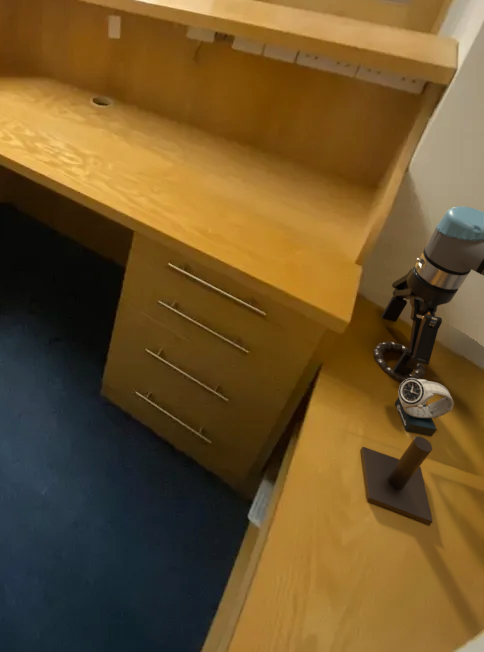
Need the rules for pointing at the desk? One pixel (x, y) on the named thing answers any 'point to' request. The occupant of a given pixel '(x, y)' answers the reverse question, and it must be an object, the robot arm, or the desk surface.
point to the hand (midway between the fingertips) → (394, 345)
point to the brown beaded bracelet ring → (379, 359)
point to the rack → (398, 480)
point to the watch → (421, 405)
